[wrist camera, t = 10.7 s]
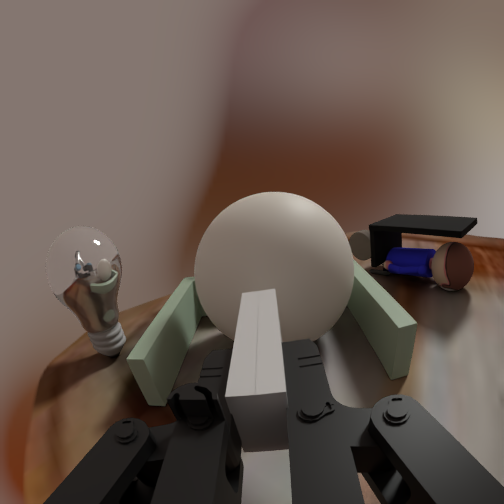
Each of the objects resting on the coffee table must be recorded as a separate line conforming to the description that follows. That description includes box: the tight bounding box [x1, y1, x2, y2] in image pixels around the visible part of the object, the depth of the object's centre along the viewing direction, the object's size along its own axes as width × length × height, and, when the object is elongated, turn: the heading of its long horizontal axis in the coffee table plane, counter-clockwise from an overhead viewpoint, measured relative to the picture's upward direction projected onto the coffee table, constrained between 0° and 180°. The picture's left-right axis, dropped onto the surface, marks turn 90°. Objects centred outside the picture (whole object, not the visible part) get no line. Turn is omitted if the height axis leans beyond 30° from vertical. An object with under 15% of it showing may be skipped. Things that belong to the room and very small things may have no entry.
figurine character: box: [349, 214, 477, 291], centre depth 27 cm, size 7×8×15 cm
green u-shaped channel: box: [126, 260, 417, 406], centre depth 21 cm, size 14×17×4 cm
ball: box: [194, 192, 354, 342], centre depth 20 cm, size 12×12×12 cm
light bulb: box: [46, 226, 126, 357], centre depth 20 cm, size 7×7×12 cm
